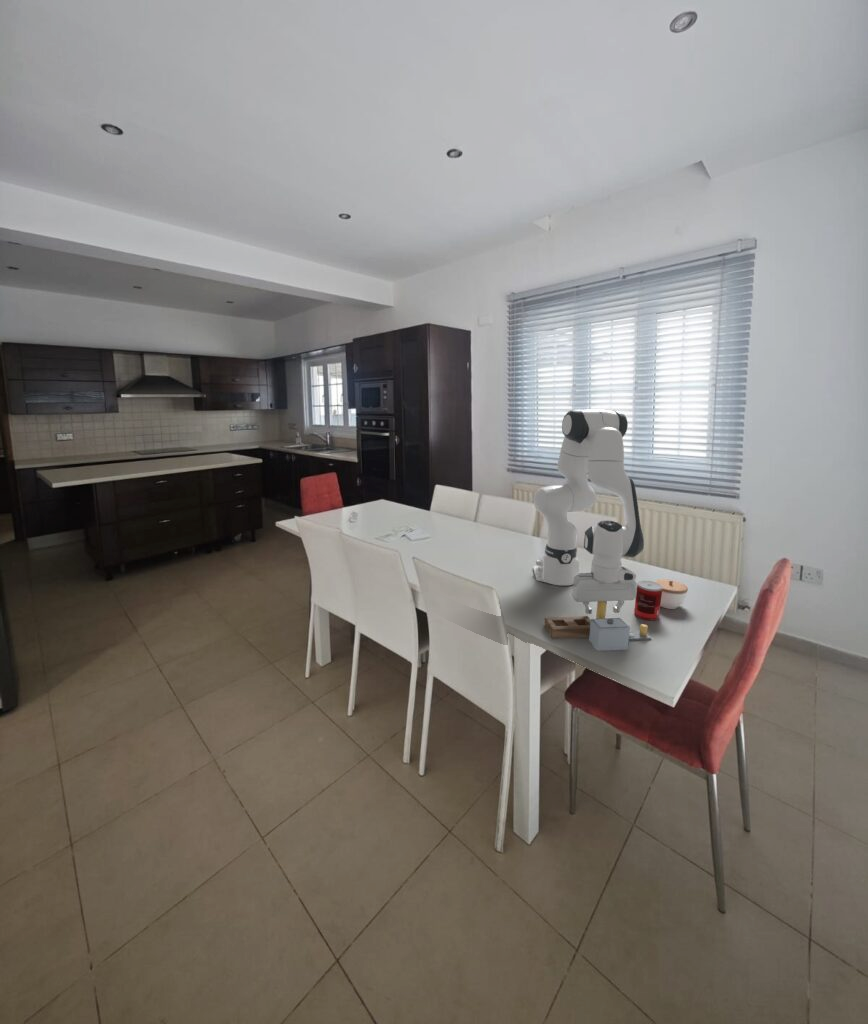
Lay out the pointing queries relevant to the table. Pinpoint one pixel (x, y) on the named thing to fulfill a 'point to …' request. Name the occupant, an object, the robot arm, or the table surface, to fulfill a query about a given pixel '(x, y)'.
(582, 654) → the table surface
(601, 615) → the peg
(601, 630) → the cover
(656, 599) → the canned food
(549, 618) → the socket board
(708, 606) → the table surface
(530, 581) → the table surface
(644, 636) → the plate
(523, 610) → the table surface
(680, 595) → the lidded jar
